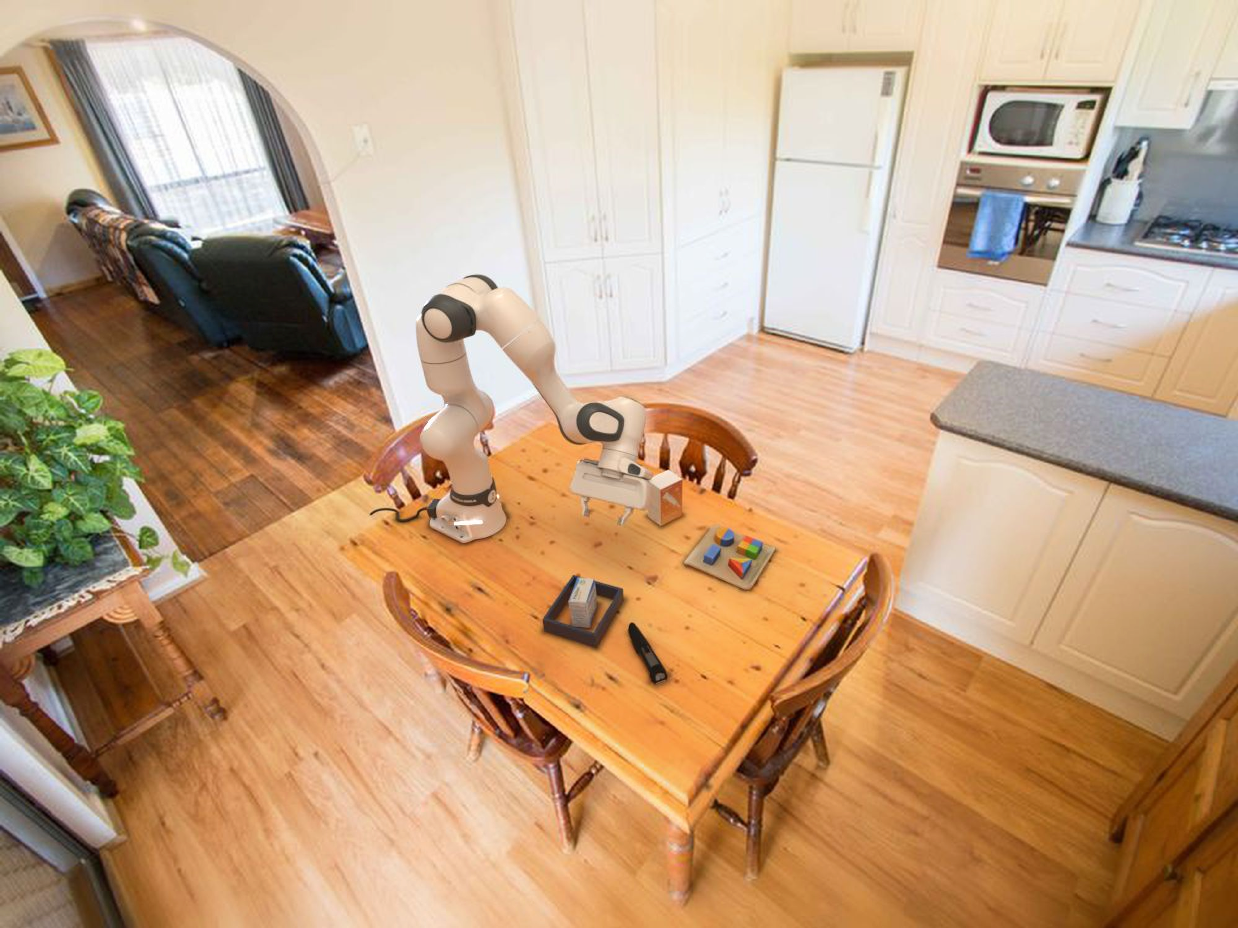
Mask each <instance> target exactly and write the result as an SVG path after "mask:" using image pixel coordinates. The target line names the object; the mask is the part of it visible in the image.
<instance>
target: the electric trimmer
mask: <svg viewBox="0 0 1238 928" xmlns="http://www.w3.org/2000/svg"><path fill="white" fill-rule="evenodd" d="M627 632H628V636H629V638H630V641H631V643H632V646H633V649H634V651H635V653H636V654H637V655H639V656H640V657H641V659H642V661H643V663H644V664H645V667H646V668H647V671H648V674H649V679H650V680H651V682H652V683H653V684H655V685H657V684H660V683H662V682H665V681H666V680H667V679H668V673H667V670H666V668H665V667H664V664H662V662H661V660H660V658H659V657H658V655H657V654H656V653H655V651H654V650H653V648H652V645H651V644H650V643H649V640H647V638H646V637H645V635H644V633H643V632H642V631H641V629H640V628H639V627H638V625H637V624H636V623H634V622H633V621H632V622H629V624H628V628H627Z"/></svg>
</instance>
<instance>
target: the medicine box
mask: <svg viewBox="0 0 1238 928" xmlns="http://www.w3.org/2000/svg"><path fill="white" fill-rule="evenodd" d="M595 581H596V580H595V579H594V578H589V577H588V578H587V577H583V578H577V580H576V583H575V586H574V588H573V591H572V594H571V596H570V599H569V600H568V609H569V613H570V620H571V626H574V627H577V628H583V629H584V628H585V629H591V626H592V623H593V620H594V616H595V613H596V611H597V608H598V607H597V606H598V597H597V596H598V595H596V588H595Z"/></svg>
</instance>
